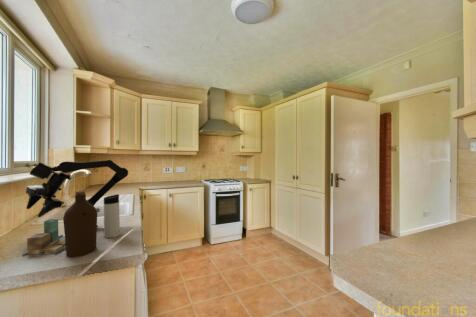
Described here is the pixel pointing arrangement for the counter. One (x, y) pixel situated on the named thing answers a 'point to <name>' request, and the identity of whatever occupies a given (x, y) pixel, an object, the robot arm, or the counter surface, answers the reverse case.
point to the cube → (38, 241)
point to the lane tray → (44, 250)
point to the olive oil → (80, 227)
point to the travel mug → (111, 216)
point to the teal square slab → (51, 228)
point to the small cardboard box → (53, 249)
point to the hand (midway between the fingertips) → (33, 212)
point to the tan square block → (61, 243)
